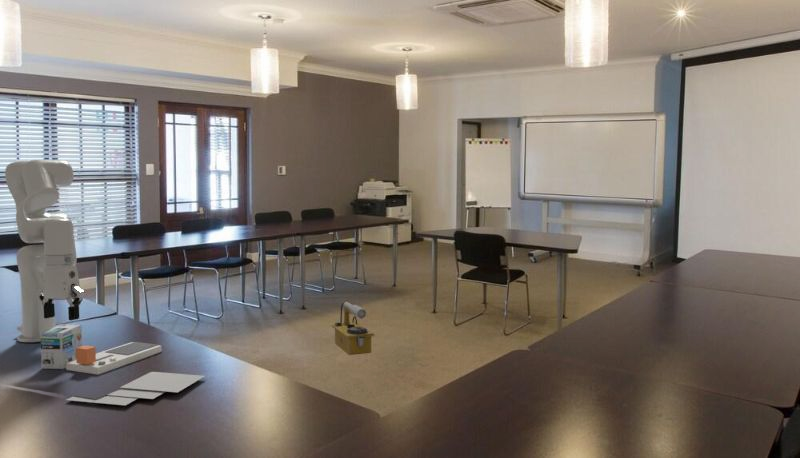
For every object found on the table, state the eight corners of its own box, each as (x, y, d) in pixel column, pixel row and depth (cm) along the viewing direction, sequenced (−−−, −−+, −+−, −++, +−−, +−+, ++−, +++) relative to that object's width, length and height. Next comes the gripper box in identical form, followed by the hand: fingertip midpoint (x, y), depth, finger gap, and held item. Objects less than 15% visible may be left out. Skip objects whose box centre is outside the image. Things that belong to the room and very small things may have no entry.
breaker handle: (76, 363, 173) (76, 347, 173) (85, 360, 176) (84, 345, 176) (87, 364, 172) (86, 349, 172) (95, 361, 175) (95, 346, 174)
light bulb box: (63, 369, 175) (62, 332, 174) (40, 369, 175) (39, 332, 175) (83, 358, 186) (82, 324, 185) (61, 358, 186) (60, 323, 185)
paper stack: (156, 408, 147) (156, 405, 147) (65, 400, 151) (65, 397, 151) (205, 378, 169) (205, 375, 169) (125, 371, 174) (125, 369, 174)
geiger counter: (348, 357, 190) (348, 310, 189) (325, 337, 214) (325, 295, 213) (375, 354, 193) (375, 308, 192) (349, 335, 217) (349, 294, 216)
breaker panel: (66, 369, 175) (65, 360, 175) (132, 348, 198) (131, 340, 198) (98, 374, 171) (97, 365, 170) (161, 351, 194) (161, 343, 194)
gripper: (92, 260, 179) (94, 317, 180) (48, 258, 185) (51, 314, 186) (70, 263, 172) (72, 322, 173) (26, 261, 178) (28, 319, 179)
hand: (61, 318), depth 179 cm, fingers open, 9 cm apart
